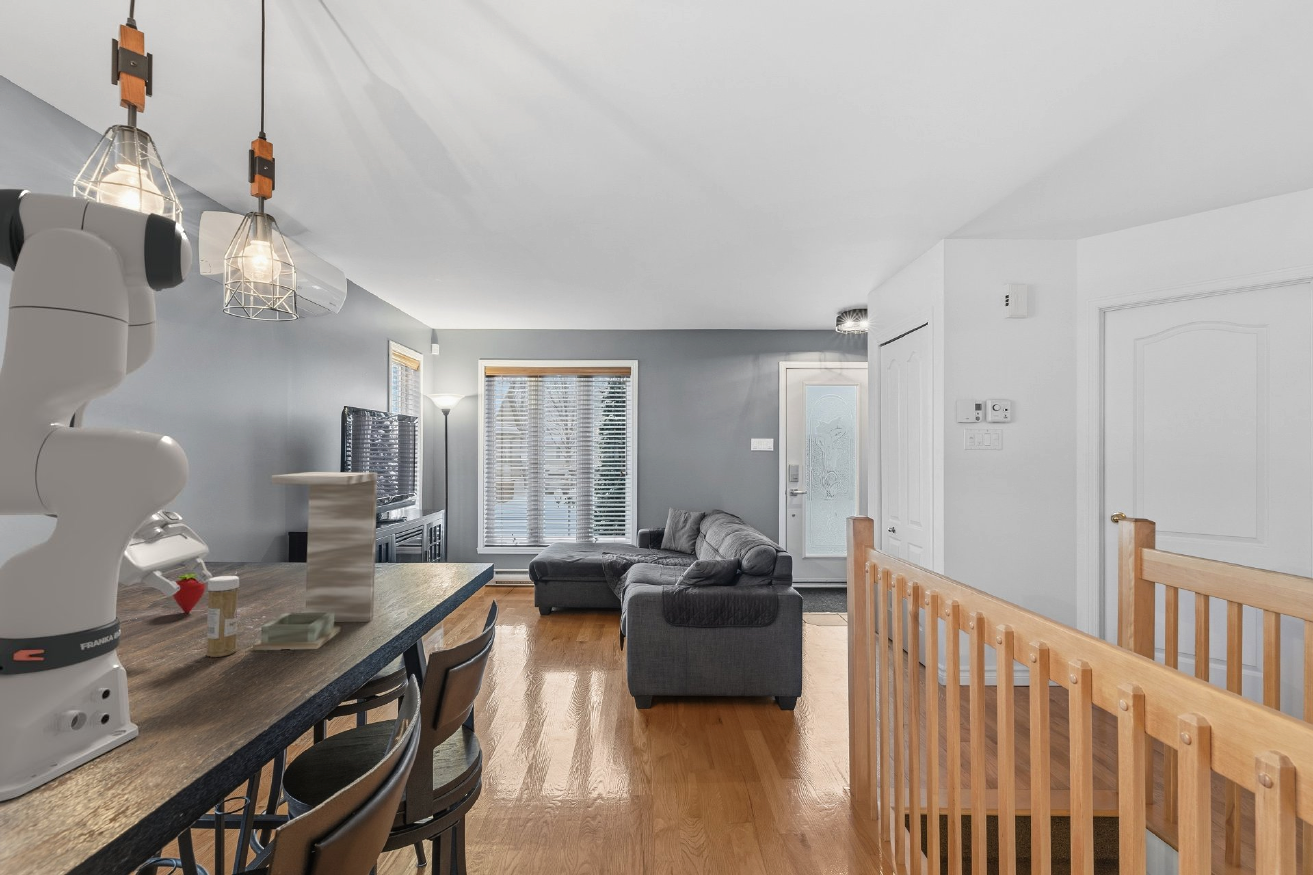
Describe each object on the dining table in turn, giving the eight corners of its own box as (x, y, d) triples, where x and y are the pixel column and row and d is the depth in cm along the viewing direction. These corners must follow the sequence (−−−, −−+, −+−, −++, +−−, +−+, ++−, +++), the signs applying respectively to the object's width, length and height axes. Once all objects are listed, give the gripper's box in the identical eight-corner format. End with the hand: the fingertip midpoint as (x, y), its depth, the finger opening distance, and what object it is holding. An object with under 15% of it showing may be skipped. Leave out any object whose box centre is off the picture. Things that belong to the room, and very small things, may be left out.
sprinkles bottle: (239, 654, 110) (241, 577, 110) (207, 659, 107) (210, 581, 107) (233, 647, 113) (236, 573, 113) (203, 653, 110) (205, 577, 110)
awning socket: (337, 648, 114) (342, 476, 114) (252, 650, 112) (258, 475, 113) (373, 618, 134) (377, 472, 134) (301, 619, 132) (306, 471, 132)
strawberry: (202, 606, 141) (204, 562, 141) (206, 613, 135) (208, 567, 135) (169, 611, 137) (171, 565, 137) (172, 618, 131) (174, 570, 131)
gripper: (102, 525, 98) (168, 586, 100) (182, 511, 119) (236, 562, 120) (70, 553, 98) (136, 615, 99) (156, 535, 118) (210, 586, 119)
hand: (191, 586), depth 110 cm, fingers open, 8 cm apart
